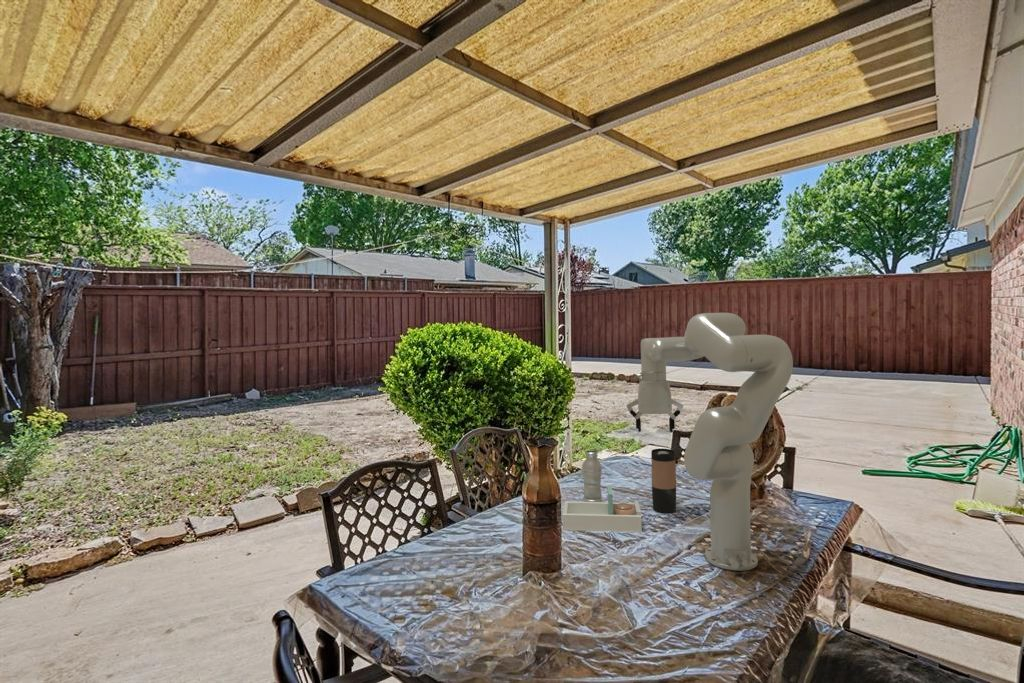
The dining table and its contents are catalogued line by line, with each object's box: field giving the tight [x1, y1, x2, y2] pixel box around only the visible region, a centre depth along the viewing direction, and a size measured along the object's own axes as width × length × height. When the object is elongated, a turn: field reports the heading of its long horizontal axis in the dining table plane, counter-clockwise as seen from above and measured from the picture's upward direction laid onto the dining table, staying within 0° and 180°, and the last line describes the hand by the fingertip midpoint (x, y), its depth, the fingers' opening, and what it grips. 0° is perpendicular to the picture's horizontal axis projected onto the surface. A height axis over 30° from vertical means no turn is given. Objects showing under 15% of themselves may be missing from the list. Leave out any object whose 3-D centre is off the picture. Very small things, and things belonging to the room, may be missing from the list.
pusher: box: [607, 485, 614, 515], centre depth 160 cm, size 9×1×10 cm, turn 171°
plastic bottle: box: [581, 449, 604, 502], centre depth 173 cm, size 6×7×20 cm
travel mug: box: [650, 448, 677, 515], centre depth 170 cm, size 8×8×20 cm
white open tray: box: [562, 500, 643, 533], centre depth 161 cm, size 12×23×6 cm, turn 81°
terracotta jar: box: [614, 502, 634, 515], centre depth 160 cm, size 6×6×6 cm
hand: (655, 431), depth 165 cm, fingers open, 9 cm apart
